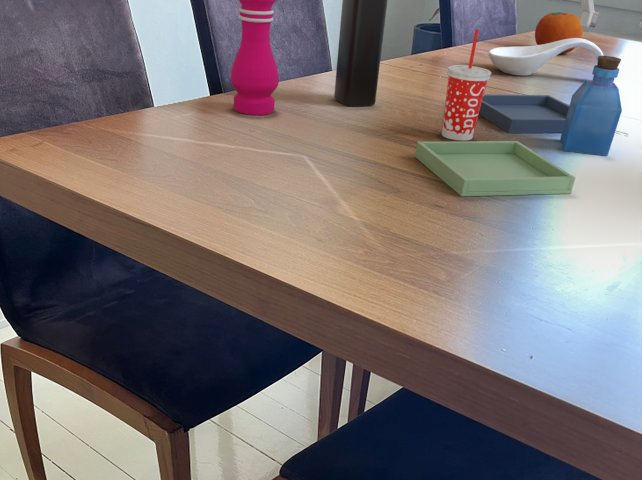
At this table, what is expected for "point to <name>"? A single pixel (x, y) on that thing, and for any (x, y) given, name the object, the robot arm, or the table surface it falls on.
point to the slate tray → (525, 113)
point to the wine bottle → (359, 51)
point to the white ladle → (535, 55)
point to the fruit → (558, 28)
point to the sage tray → (493, 168)
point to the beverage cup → (464, 98)
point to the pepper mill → (255, 60)
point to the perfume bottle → (594, 111)
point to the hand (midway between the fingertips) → (616, 28)
